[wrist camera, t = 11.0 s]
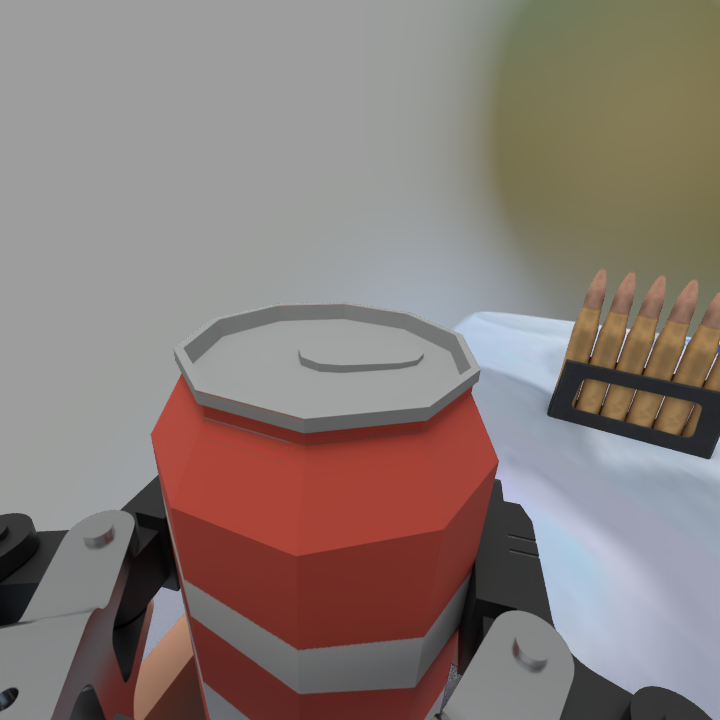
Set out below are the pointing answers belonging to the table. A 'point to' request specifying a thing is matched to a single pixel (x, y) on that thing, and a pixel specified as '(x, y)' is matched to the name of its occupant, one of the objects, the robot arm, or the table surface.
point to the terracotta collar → (175, 679)
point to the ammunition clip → (643, 370)
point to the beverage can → (324, 508)
